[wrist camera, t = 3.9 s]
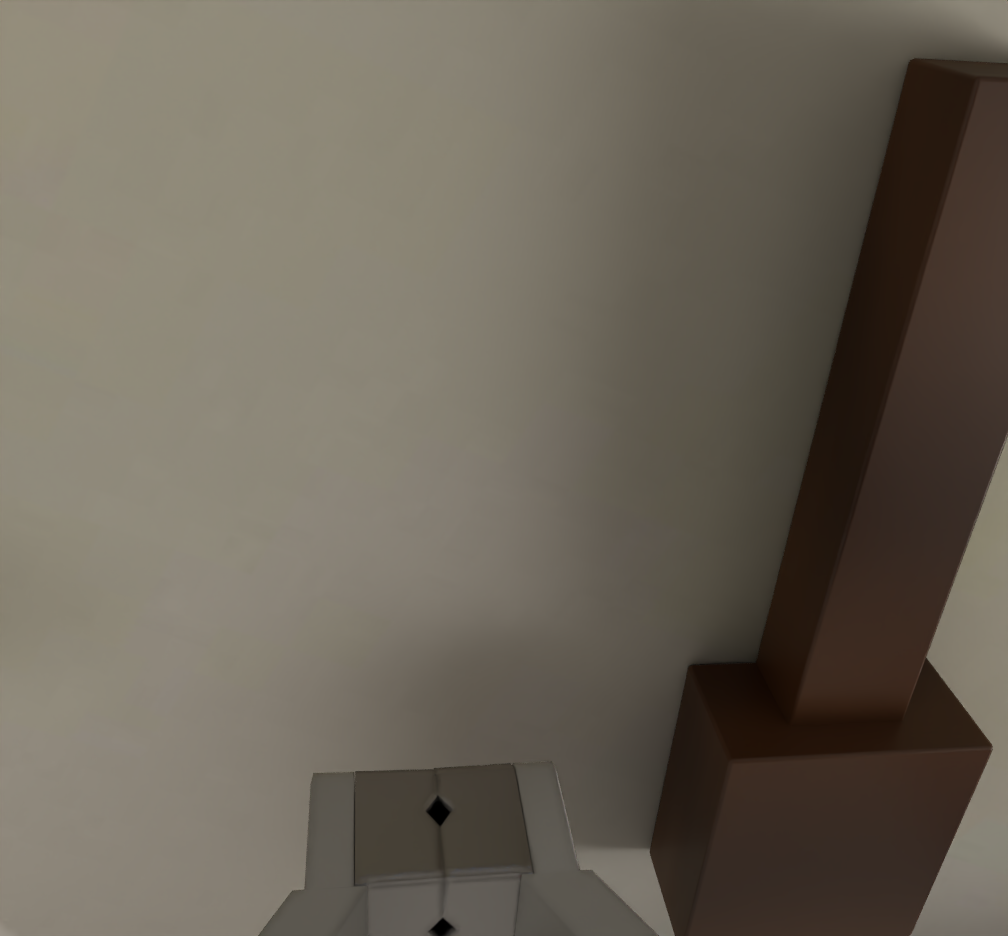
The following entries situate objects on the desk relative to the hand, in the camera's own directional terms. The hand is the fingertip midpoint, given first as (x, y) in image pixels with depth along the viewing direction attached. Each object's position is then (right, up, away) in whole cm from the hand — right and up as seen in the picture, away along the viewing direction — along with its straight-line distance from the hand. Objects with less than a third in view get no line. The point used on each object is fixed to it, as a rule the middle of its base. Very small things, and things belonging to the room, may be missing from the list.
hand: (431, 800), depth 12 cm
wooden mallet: (+6, +3, +2) cm, 7 cm away
